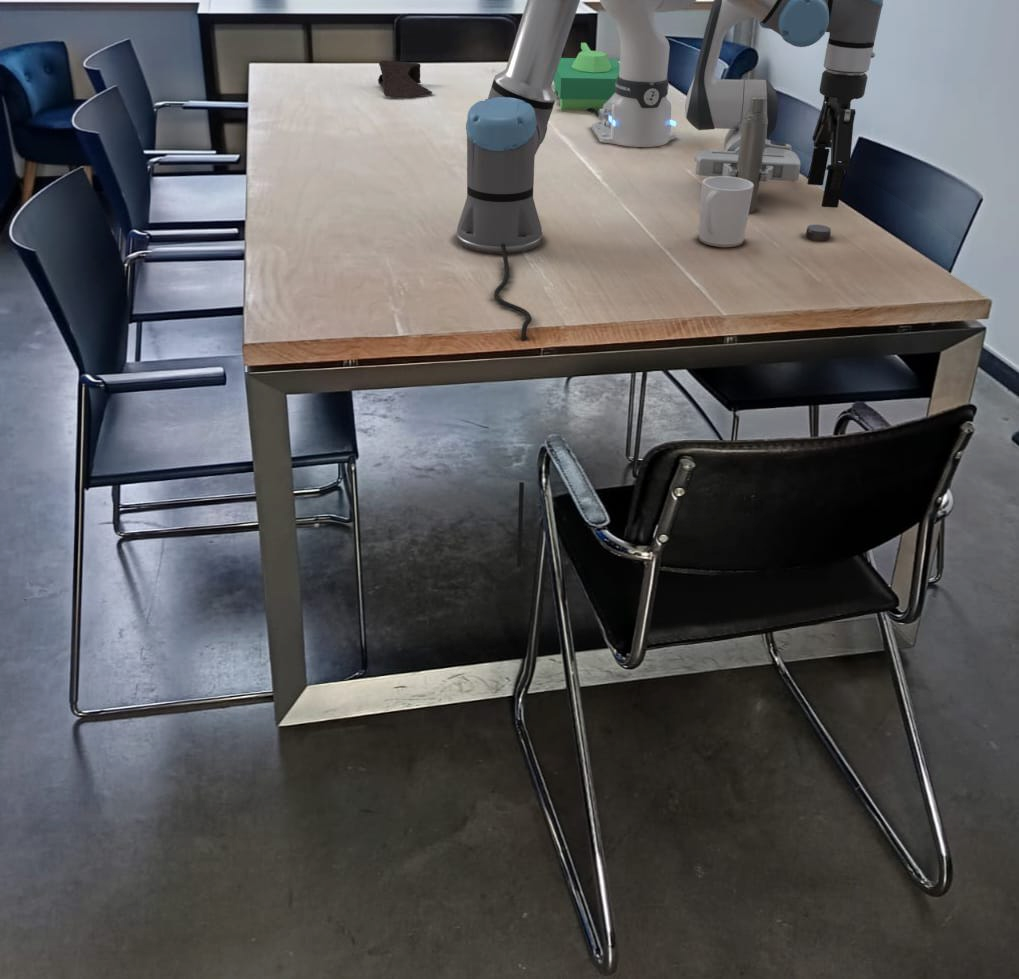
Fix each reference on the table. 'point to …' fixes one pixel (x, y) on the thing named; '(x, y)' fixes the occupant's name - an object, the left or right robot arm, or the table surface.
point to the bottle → (753, 145)
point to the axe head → (401, 79)
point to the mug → (724, 210)
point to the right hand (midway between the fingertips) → (748, 176)
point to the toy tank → (586, 80)
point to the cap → (818, 232)
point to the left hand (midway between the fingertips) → (822, 195)
